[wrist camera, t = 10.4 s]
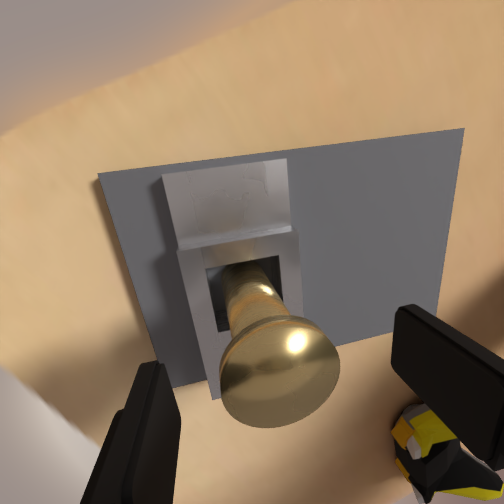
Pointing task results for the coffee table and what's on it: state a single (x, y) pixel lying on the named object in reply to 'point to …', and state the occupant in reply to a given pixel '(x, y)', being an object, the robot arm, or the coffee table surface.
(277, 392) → the pin
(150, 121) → the coffee table surface
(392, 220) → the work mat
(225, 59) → the coffee table surface
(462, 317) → the coffee table surface
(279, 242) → the grey slotted housing block
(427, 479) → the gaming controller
